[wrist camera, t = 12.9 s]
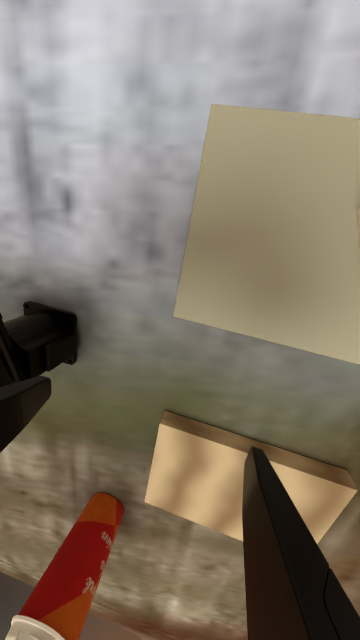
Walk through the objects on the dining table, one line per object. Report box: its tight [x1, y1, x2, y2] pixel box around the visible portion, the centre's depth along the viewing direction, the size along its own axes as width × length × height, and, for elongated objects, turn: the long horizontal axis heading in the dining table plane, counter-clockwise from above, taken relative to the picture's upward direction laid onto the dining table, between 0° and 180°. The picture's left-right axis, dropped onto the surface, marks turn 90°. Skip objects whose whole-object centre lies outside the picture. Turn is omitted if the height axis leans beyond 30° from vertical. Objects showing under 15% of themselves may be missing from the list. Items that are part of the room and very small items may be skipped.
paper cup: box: [5, 492, 124, 640], centre depth 28 cm, size 8×8×14 cm
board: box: [145, 411, 357, 544], centre depth 26 cm, size 20×14×2 cm
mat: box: [173, 104, 360, 364], centre depth 17 cm, size 22×16×1 cm
